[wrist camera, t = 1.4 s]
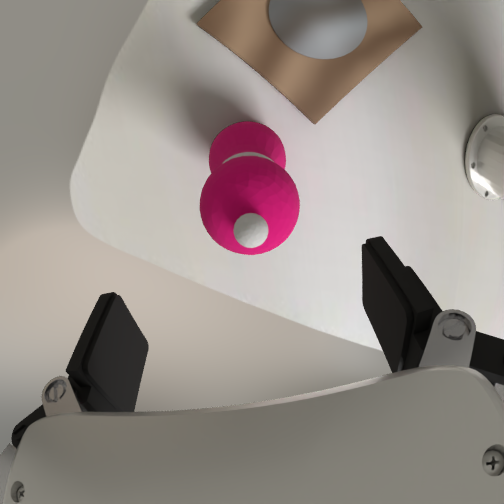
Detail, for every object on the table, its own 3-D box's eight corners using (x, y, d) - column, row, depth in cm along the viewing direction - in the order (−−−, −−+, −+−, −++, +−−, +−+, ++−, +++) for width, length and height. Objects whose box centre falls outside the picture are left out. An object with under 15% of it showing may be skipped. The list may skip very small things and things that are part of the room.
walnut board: (415, 28, 24) (424, 26, 23) (312, 122, 31) (315, 124, 29) (314, -68, 18) (318, -75, 17) (198, 26, 25) (195, 23, 23)
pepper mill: (223, 108, 30) (196, 147, 13) (289, 128, 31) (348, 194, 14) (205, 170, 33) (166, 278, 16) (268, 188, 35) (292, 308, 18)
